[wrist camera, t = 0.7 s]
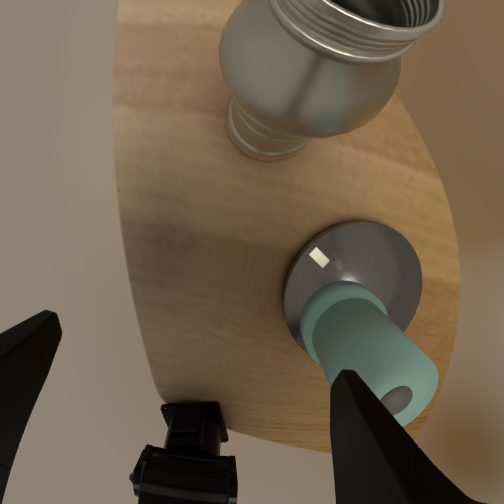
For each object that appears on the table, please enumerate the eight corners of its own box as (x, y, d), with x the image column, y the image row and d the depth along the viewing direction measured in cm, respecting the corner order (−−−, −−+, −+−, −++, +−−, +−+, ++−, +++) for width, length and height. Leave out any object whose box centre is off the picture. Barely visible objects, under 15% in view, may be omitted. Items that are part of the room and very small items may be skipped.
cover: (373, 345, 25) (431, 423, 15) (301, 359, 25) (333, 454, 15) (377, 274, 24) (456, 335, 13) (297, 287, 24) (340, 368, 13)
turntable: (410, 341, 27) (416, 347, 26) (287, 368, 27) (290, 376, 25) (418, 214, 24) (426, 216, 23) (275, 229, 24) (278, 232, 22)
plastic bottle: (209, 123, 22) (127, -41, 3) (270, 71, 22) (346, -120, 2) (265, 180, 24) (382, 187, 4) (324, 126, 23) (519, 37, 4)
